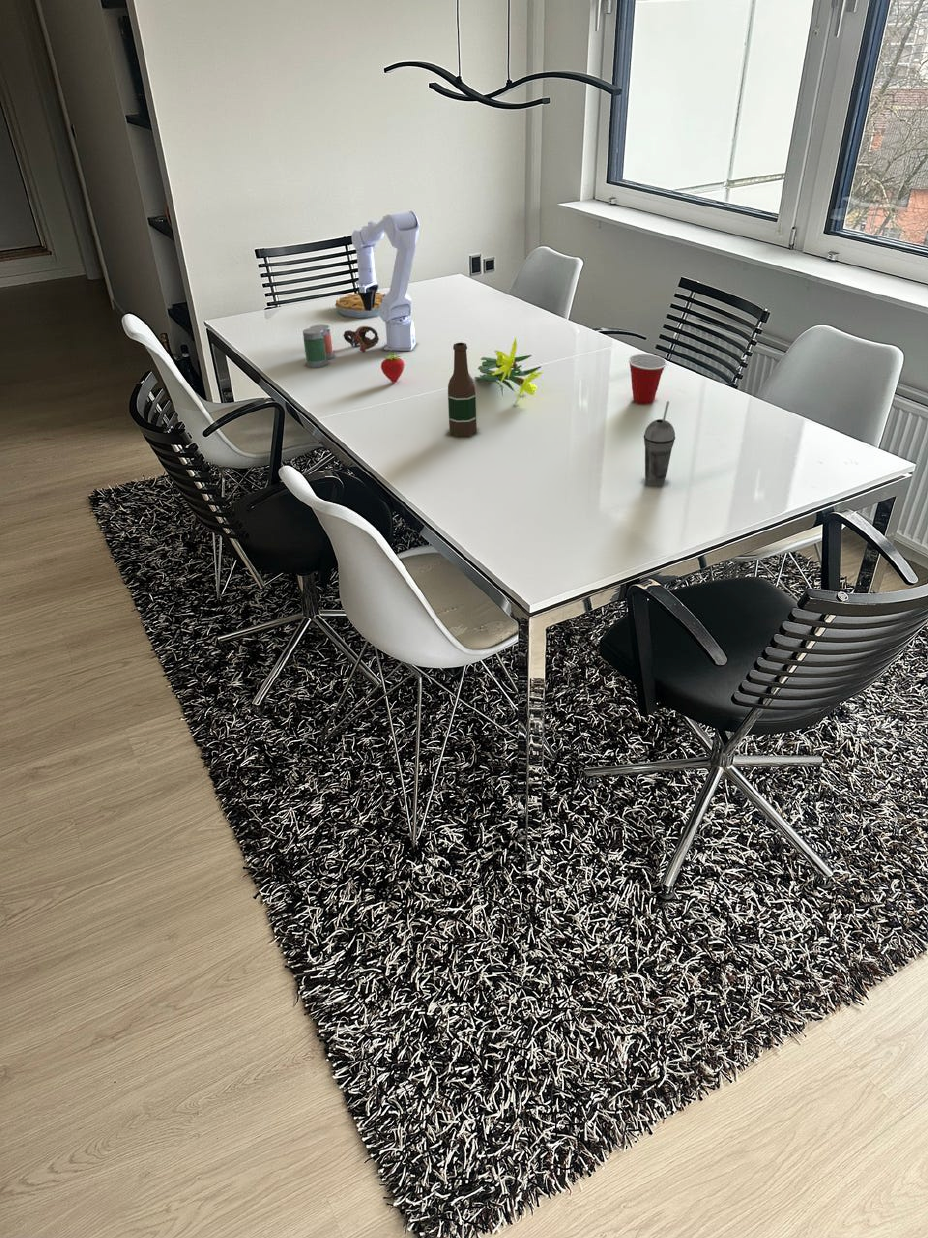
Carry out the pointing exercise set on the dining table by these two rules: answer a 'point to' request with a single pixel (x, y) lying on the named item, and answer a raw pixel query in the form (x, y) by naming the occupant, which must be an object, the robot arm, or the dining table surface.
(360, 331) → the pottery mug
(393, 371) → the strawberry
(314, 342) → the tin cans
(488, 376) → the daffodil flowers
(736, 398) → the dining table surface
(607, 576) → the dining table surface
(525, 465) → the dining table surface
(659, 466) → the beverage cup
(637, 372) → the plastic cup
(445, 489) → the dining table surface
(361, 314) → the pie
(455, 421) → the beer bottle
